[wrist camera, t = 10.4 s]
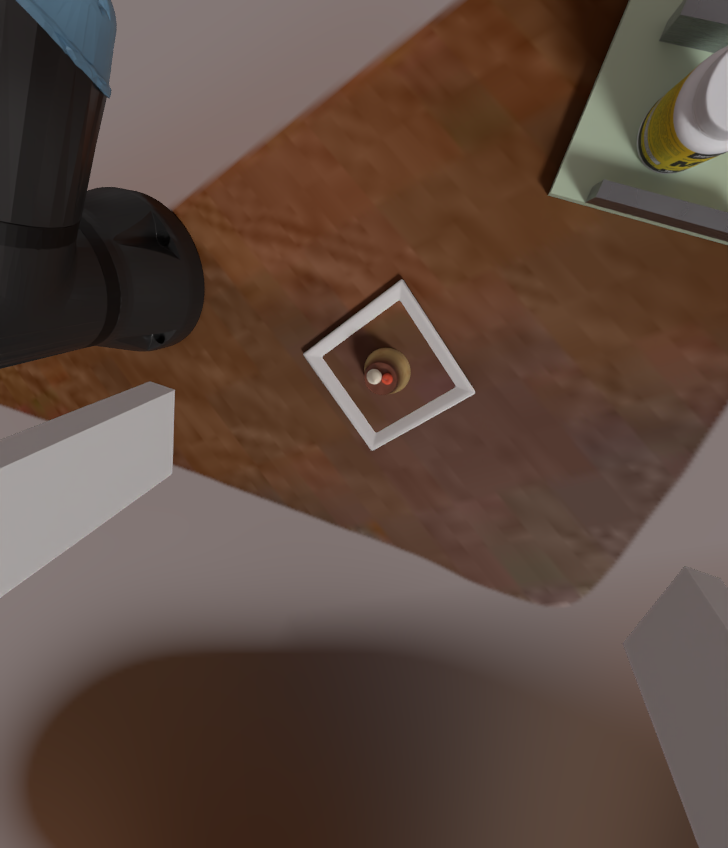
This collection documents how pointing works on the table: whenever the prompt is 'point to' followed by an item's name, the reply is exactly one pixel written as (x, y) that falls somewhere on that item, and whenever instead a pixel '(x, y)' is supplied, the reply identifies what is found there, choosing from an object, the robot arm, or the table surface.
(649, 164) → the supplement bottle
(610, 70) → the board
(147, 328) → the robot arm
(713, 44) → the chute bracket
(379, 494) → the table surface
